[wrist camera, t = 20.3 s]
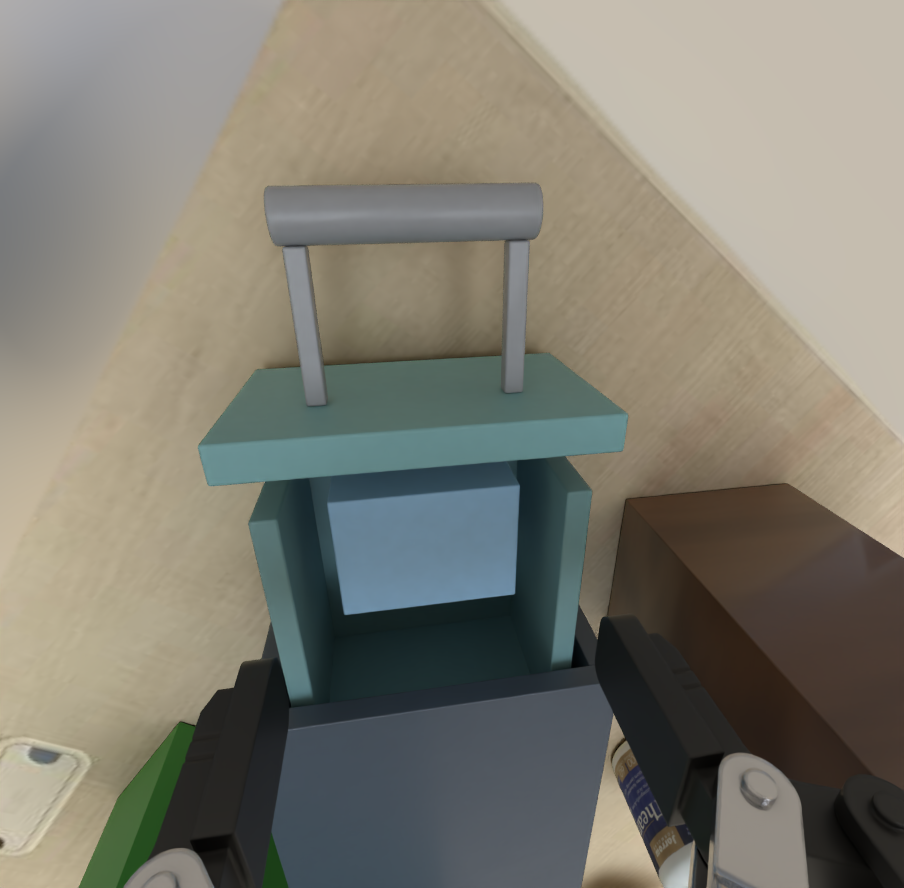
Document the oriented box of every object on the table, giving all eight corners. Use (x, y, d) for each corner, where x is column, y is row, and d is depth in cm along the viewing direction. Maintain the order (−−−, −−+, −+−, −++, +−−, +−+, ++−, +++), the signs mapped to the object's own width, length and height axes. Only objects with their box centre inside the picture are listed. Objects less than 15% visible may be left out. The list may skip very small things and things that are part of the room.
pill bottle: (616, 730, 32) (706, 920, 24) (690, 720, 33) (803, 901, 24) (603, 780, 35) (681, 970, 26) (673, 770, 35) (771, 951, 27)
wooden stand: (625, 498, 24) (1702, 1700, 5) (788, 482, 25) (2210, 1396, 6) (606, 618, 28) (1179, 1605, 8) (750, 600, 29) (1563, 1426, 9)
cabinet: (285, 562, 23) (240, 736, 15) (542, 535, 25) (620, 681, 17) (325, 756, 29) (307, 950, 21) (528, 725, 31) (580, 895, 23)
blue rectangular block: (349, 537, 21) (343, 616, 17) (336, 441, 19) (326, 503, 15) (488, 523, 21) (515, 594, 17) (489, 429, 19) (520, 485, 15)
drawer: (220, 194, 16) (124, 180, 10) (561, 189, 17) (665, 174, 11) (307, 635, 24) (285, 778, 18) (532, 607, 25) (582, 731, 19)
